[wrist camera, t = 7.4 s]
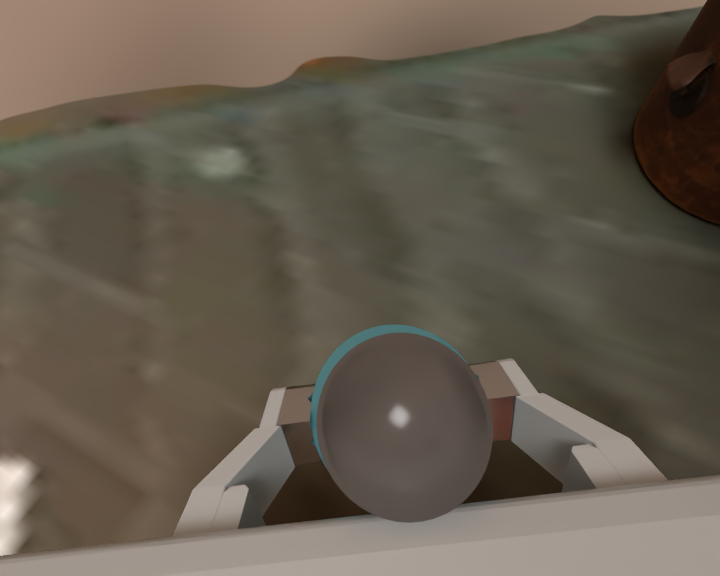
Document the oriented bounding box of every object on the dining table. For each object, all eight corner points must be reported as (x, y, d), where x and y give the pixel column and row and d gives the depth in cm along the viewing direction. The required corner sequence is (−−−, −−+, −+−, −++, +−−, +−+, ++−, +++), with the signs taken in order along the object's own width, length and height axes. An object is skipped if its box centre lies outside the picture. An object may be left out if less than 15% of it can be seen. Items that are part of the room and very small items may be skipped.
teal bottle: (387, 337, 18) (390, 244, 7) (457, 400, 17) (603, 413, 6) (326, 404, 17) (215, 424, 6) (395, 476, 16) (420, 678, 5)
